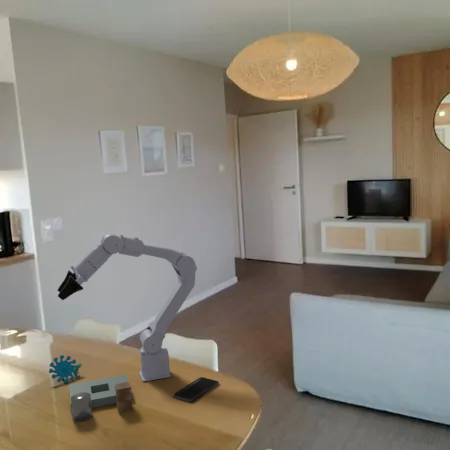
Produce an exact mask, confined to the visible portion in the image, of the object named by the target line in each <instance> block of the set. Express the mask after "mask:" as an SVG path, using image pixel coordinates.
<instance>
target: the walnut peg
mask: <svg viewBox="0 0 450 450" xmlns="http://www.w3.org/2000/svg"><path fill="white" fill-rule="evenodd" d="M131 388H132V387H131V385H130V381H128V382H124V383H119V384H115V389H116V403H115V404H116V409H117V412H118V413H123V412H124V413H125V412H129V411H133V403H132V402H133V400H131V391H132V389H131Z"/></svg>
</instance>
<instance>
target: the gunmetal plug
mask: <svg viewBox="0 0 450 450" xmlns="http://www.w3.org/2000/svg"><path fill="white" fill-rule="evenodd" d="M71 409H72V412H71V417H72V419H71V420H73V422H77V423H78V422H85V421H88V420H90V419H91V418H92V417H93V410H92V409H93V408H92V406H91V395H90V393H86V392H82V393H77V394H75V395H73V396H72V397H71V405H70V410H71Z"/></svg>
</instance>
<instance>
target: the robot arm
mask: <svg viewBox="0 0 450 450" xmlns="http://www.w3.org/2000/svg"><path fill="white" fill-rule="evenodd" d="M117 253H118V254H119V255H124V256H131V257H136V258H139V257H141V256H142V255H146V256H151V257H155V258H160V259H164V260H166V261H167V262H169V263H170V264H171V266H172V268H173V269H174V271H175V272H176V276H177V279H178V283H177V284H176V286H175V288H174V289H173V290H172V292H171V293H170V296H169V297H168V298H167V300H166V301H165V303H164V305H163V306H162V308H161V309H160V311H159V312H158V313H157V316H155V319H153V321H151V322H149V324H148V325H147V326H146V327H145V328H143V329H142V330H141V331H140V332H139V335H138V340H139V342H140V343H141V345H142V346H141V348H140V350H139V351H140V366H141V370H140V371H139V372H138V373H139V376H140V379H141V381H142V382H149V381H155V380H159V379H160V380H161V379H165V378H170V377H171V371H170V369H171V367H170V355H169V354H170V353H169V349H167V347H163V348H162V346H163V341H164V339H165V338H166V332H167V329H168V327H169V326H170V325H171V323H172V321H173V320H174V318H175V317H176V315H177V314H178V312H179V311H180V309H181V308H182V306H183V304H185V301H186V299H187V298H188V297H189V295H190V293H191V292H192V290H193V289H194V287H195V285H196V274H197V273H196V272H197V265H196V261H195V260H194V258H193V257H191V256H189V255H187V254H186V253H184V252H180V251H179V250H174V249H171V248H168V247H160V246H154V245H147V244H144V242H143V240H141V239H139V237H137V236H136V237H134V238H132V237H126V236H124V235H123V234H120V235H119V236H118V235H115V234H112V233H109V234H106V235H104V236H102V238H101V242H99V243H98V244H97V246H95V247H94V248H93V249H92V250H91V251H89V253H87V255H85V256H84V257H83V259H82V260H80V262H78V264H77V265H76V266H73V265H70V269H71V270H72V271H73V272H72V271H71V270H67V273H66V275H65V278H64V279H63V281H62V282H61V284H60V285H59V287H58V288H57V292H58V294H57V297H58V298H59V299H61V301H64V300H67V298H69V297H70V296H72V295H73V294H75V293H77V292H80V291H82V290H84V287H83V286H82V284H84V283H87V282H88V281H89V279H90V278H92V277H93V275H94V274H95V273H96V272H97V271H98V270H99V269H101V267H102V266H103V265H104V264H105V263H106V262H107V261H108V259H109V258H110V257H112V255H114V254H117Z"/></svg>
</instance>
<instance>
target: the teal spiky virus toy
mask: <svg viewBox="0 0 450 450" xmlns="http://www.w3.org/2000/svg"><path fill="white" fill-rule="evenodd" d="M64 358H65V356H64V355H60V356H59V359H60V361H58V360H59V359H58V357H54V358H53V361H51V362H50V364H49V367H50V368H49V370H48V373H49V374H52V375H51V379H52V380H55V378H57V377H58V378H57V380H56V382H57V383H59V384H60V383H61V382H62V380H63V378H65V379H64V380H63V383H65V384H68V383H69V377H70V381H74V380H75V376H78V375H79V373H80V372H79V369H80V368H82V365H83V364H82V363H79V364H76V363H77V360H76V359H73V360H71V359H72V357H71V356H70V355H67V357H66V358H65V360H63V359H64ZM70 360H71V361H70ZM53 368H54V369H53ZM73 374H74V375H73Z"/></svg>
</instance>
